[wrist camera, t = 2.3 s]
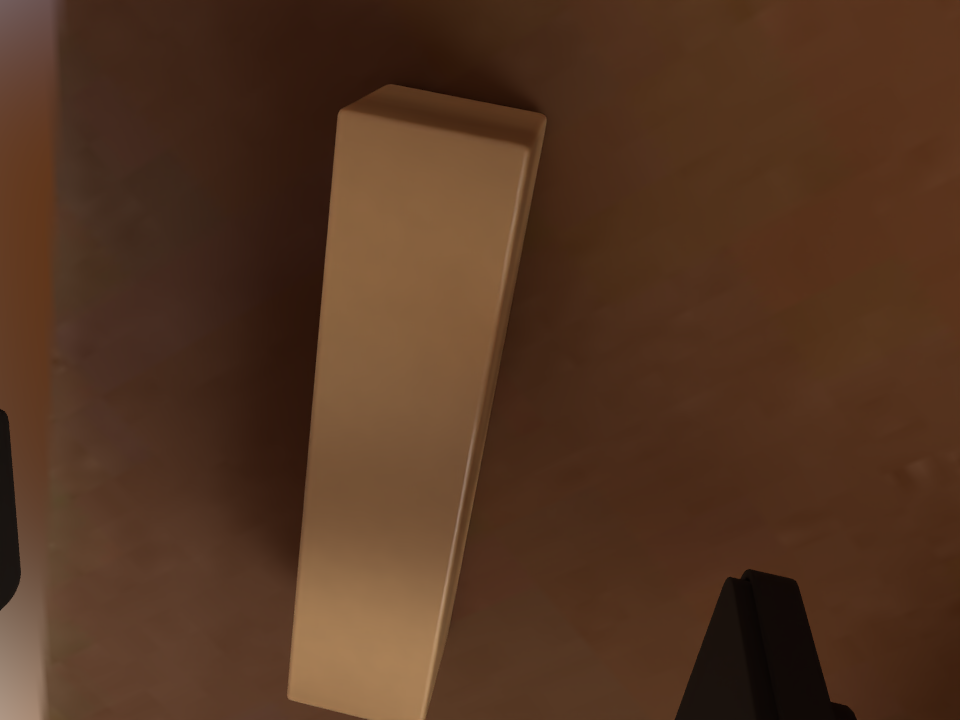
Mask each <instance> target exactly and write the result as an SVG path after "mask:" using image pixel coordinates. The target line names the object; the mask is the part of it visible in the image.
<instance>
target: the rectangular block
mask: <svg viewBox="0 0 960 720" xmlns="http://www.w3.org/2000/svg"><path fill="white" fill-rule="evenodd" d="M546 123H547V119H546V116H545V115H543V114H542V113H537V112H532V111H527V110H522V109H516V108H511V107H506V106H501V105H496V104H491V103H486V102H481V101H475V100H470V99H465V98H460V97H455V96H450V95H445V94H440V93H434V92H429V91H424V90H419V89H414V88H409V87H404V86H399V85H393V84H389V85H385V86H383V87H382V88H380V89H378V90H376V91H374V92H372V93H370V94H368V95H367V96H365V97H363V98H361V99H359V100H357V101H355V102H353V103H352V104H350V105H348V106H346V107H344V108H342V109H340V111H339V113H338V117H337V128H336V140H335V151H334V162H333V174H332V185H331V197H330V208H329V220H328V231H327V242H326V254H325V265H324V277H323V288H322V299H321V311H320V322H319V334H318V345H317V357H316V368H315V379H314V391H313V402H312V414H311V425H310V437H309V448H308V459H307V471H306V482H305V494H304V505H303V516H302V528H301V539H300V551H299V562H298V574H297V585H296V596H295V608H294V619H293V631H292V642H291V653H290V665H289V676H288V688H287V697H288V699H290V700H292V701H296V702H300V703H304V704H308V705H312V706H316V707H320V708H324V709H328V710H332V711H336V712H340V713H344V714H348V715H352V716H356V717H360V718H364V719H368V720H425V719H426V715H427V711H428V707H429V704H430V700H431V696H432V692H433V689H434V685H435V681H436V677H437V674H438V670H439V666H440V663H441V659H442V655H443V651H444V648H445V644H446V640H447V636H448V632H449V626H450V621H451V616H452V611H453V606H454V601H455V595H456V590H457V585H458V580H459V575H460V569H461V564H462V559H463V554H464V549H465V543H466V538H467V533H468V528H469V523H470V518H471V512H472V507H473V502H474V497H475V492H476V486H477V481H478V476H479V471H480V466H481V460H482V455H483V450H484V445H485V440H486V435H487V429H488V424H489V419H490V414H491V409H492V403H493V398H494V393H495V388H496V383H497V377H498V372H499V367H500V362H501V357H502V352H503V346H504V341H505V336H506V331H507V326H508V320H509V315H510V310H511V305H512V300H513V294H514V289H515V284H516V279H517V274H518V269H519V263H520V258H521V253H522V248H523V243H524V237H525V232H526V227H527V222H528V217H529V212H530V206H531V201H532V196H533V191H534V186H535V180H536V175H537V170H538V165H539V160H540V154H541V149H542V144H543V139H544V134H545V129H546Z"/></svg>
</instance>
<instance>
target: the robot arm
mask: <svg viewBox="0 0 960 720" xmlns="http://www.w3.org/2000/svg"><path fill="white" fill-rule="evenodd" d="M20 575H21V568H20V556H19V543H18V532H17V518H16V506H15V493H14V481H13V469H12V457H11V444H10V431H9V421H8V416H7V414H6V413H5V411H3V410H1V409H0V610H1V609H2V608H3V607H4V606H5V605H6V604H7V603H8V602H9V601H10V600H11V598H12V597H13V595H14V594H15V592H16V589H17V587H18V585H19V581H20ZM675 720H857V719H856V717H855V715H854V712H853V711H852V710H851V709H850V708H849V707H848V706H846V705H841V704H837V703H833V702H830V698H829V695H828V691H827V687H826V684H825V680H824V677H823V673H822V669H821V666H820V662H819V659H818V655H817V651H816V648H815V644H814V641H813V637H812V633H811V630H810V626H809V623H808V619H807V615H806V612H805V608H804V604H803V601H802V597H801V594H800V590H799V587H798V584H797V582H796V581H795V580H793V579H790V578H786V577H781V576H777V575H773V574H768V573H764V572H760V571H755V570H751V569H748V570H746V571H745V572H744V574H743V575H742V577H741V579H737V578H732V577H729V578H727V579H726V581H725V583H724V585H723V588H722V590H721V593H720V596H719V599H718V601H717V604H716V607H715V610H714V613H713V615H712V618H711V621H710V624H709V626H708V629H707V632H706V635H705V637H704V640H703V643H702V646H701V649H700V651H699V654H698V657H697V660H696V662H695V665H694V668H693V671H692V673H691V676H690V679H689V682H688V685H687V687H686V690H685V693H684V696H683V698H682V701H681V704H680V707H679V709H678V712H677V715H676V718H675Z"/></svg>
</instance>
